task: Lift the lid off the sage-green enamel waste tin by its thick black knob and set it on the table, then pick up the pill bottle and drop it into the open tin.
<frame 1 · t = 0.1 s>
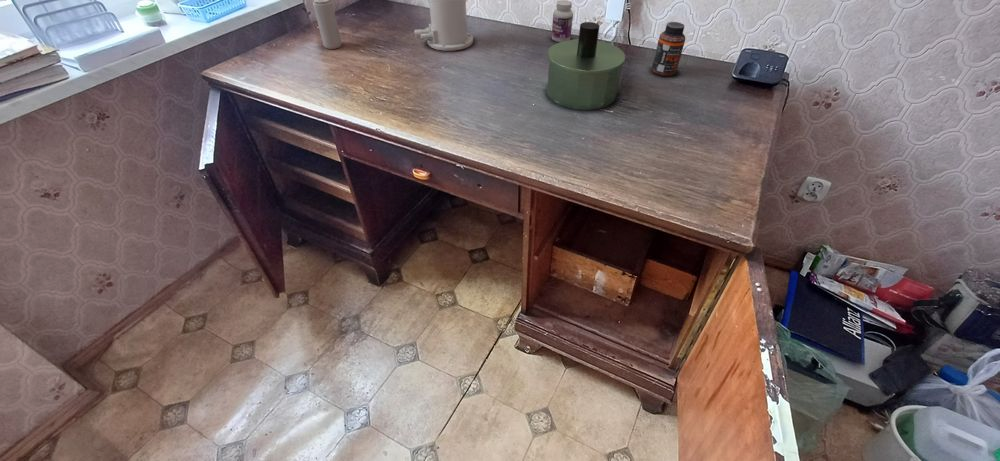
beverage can: (333, 47, 127), on the table
tin lid: (585, 56, 101), point 8 cm above the table, touching waste tin
pill bottle: (560, 39, 130), on the table
supplement bottle: (663, 72, 115), on the table
waste tin: (581, 93, 107), on the table
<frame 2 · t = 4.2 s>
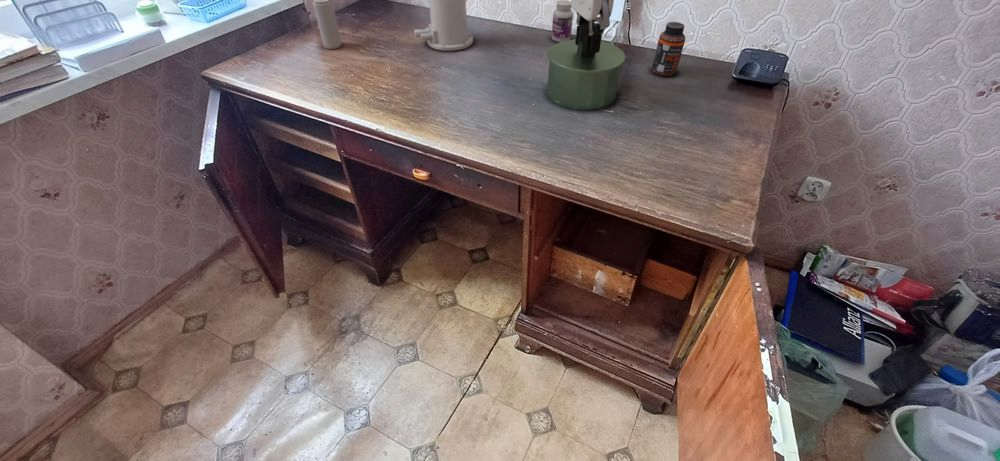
hand: (587, 47, 100), 11 cm above the table, tool pointing down, fingers closed on tin lid, 4 cm apart
tin lid: (585, 56, 101), point 9 cm above the table, touching gripper, waste tin
everything else where it was.
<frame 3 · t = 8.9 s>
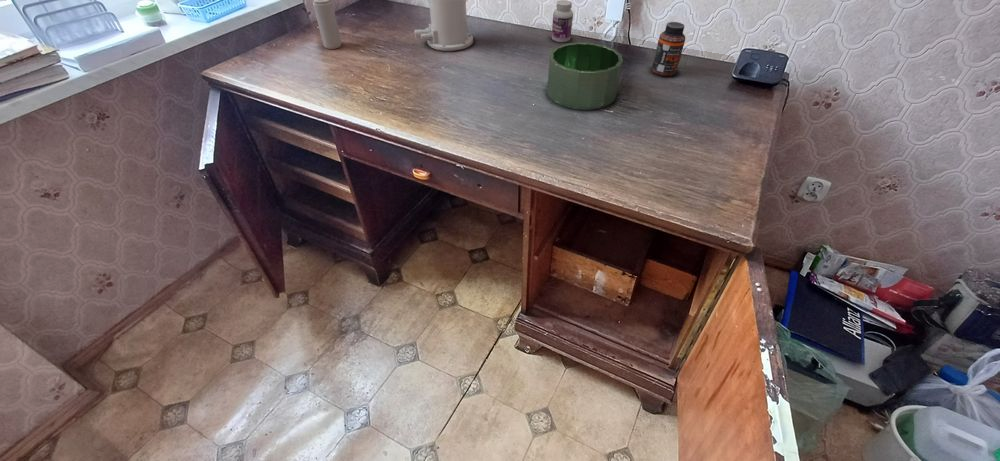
when the fingers open (3 cm above the table, at t = 13.4 s): tin lid stays where it is, point 1 cm above the table.
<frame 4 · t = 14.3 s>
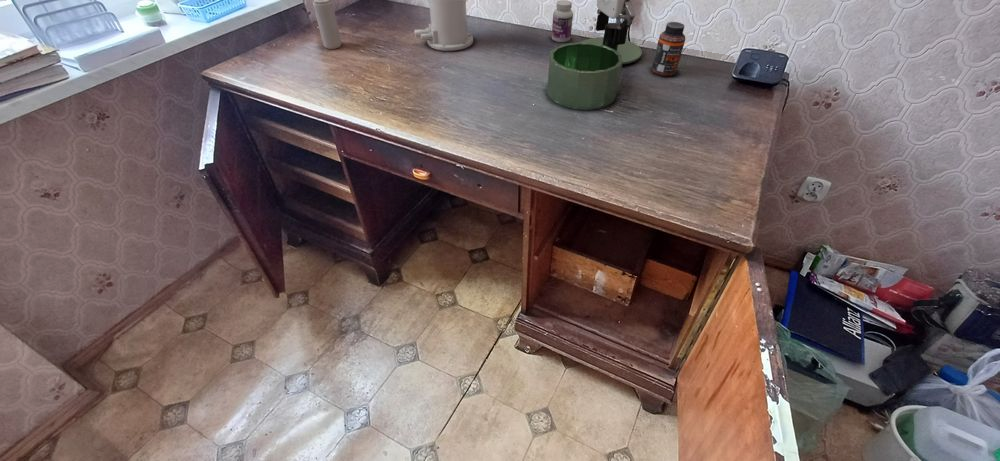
hand: (609, 37, 120), 4 cm above the table, tool pointing down, fingers open, 9 cm apart
tin lid: (609, 51, 122), point 1 cm above the table
everything else where it was.
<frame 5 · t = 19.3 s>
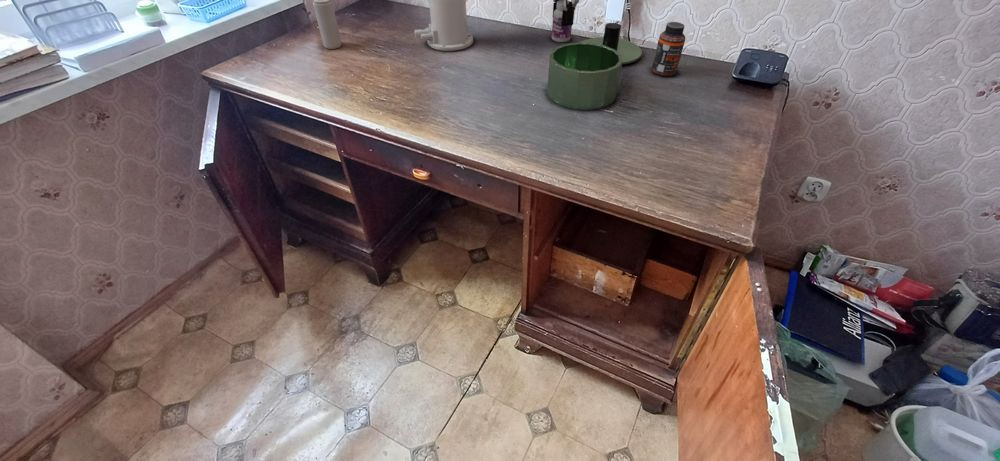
hand: (562, 20, 127), 5 cm above the table, tool pointing down, fingers closed on pill bottle, 5 cm apart
pill bottle: (560, 39, 130), on the table, touching gripper
everything else where it was.
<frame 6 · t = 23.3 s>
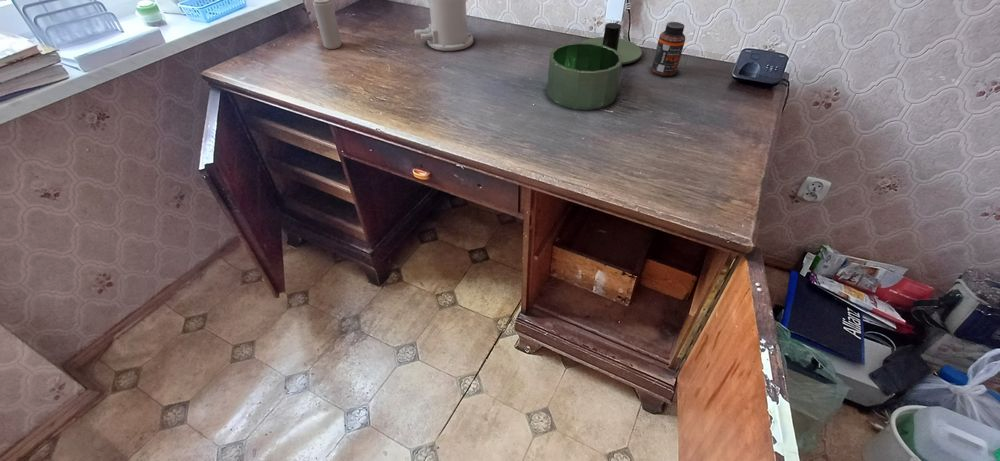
when the fingers open (12 cm above the table, at t = 27.4 s): pill bottle drops 6 cm, resting on waste tin.
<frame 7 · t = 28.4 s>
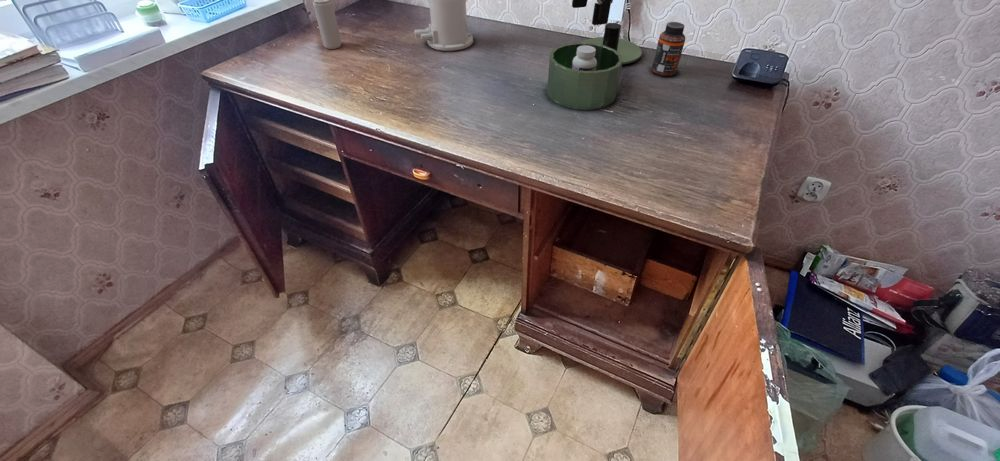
hand: (588, 15, 95), 17 cm above the table, tool pointing down, fingers open, 9 cm apart
pill bottle: (580, 91, 107), resting on waste tin
everything else where it was.
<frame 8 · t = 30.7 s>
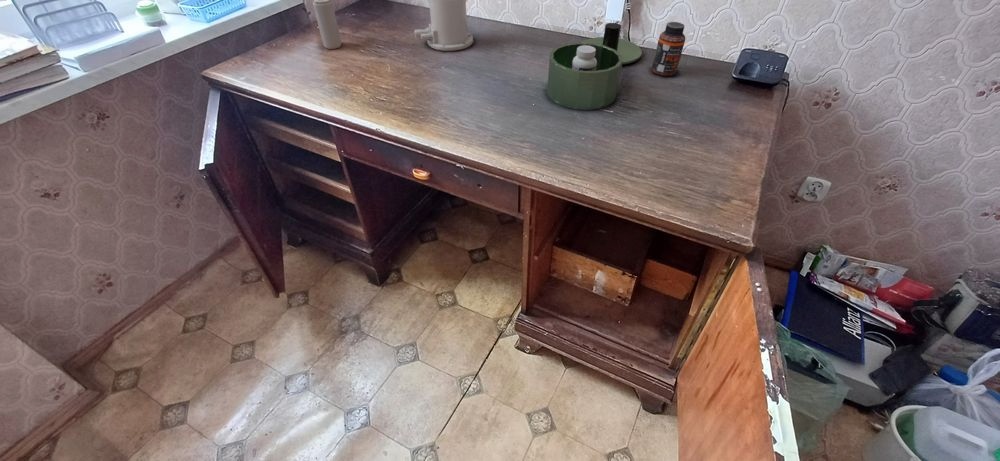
nothing on the table moved.
at the end: tin lid inside the target area (0.1 cm from its centre), point 0.6 cm above the table; pill bottle inside the target area in the waste tin (0.3 cm from its centre), point 0.3 cm above the waste tin's base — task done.
